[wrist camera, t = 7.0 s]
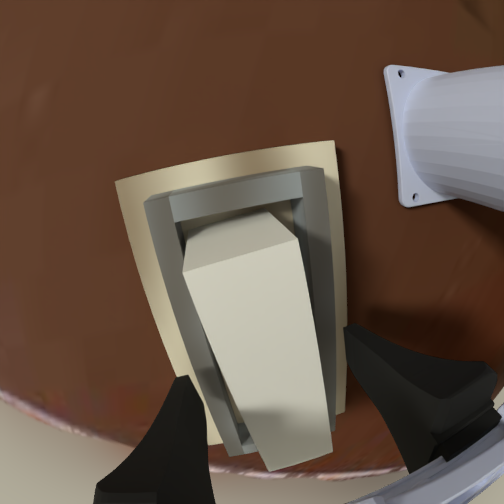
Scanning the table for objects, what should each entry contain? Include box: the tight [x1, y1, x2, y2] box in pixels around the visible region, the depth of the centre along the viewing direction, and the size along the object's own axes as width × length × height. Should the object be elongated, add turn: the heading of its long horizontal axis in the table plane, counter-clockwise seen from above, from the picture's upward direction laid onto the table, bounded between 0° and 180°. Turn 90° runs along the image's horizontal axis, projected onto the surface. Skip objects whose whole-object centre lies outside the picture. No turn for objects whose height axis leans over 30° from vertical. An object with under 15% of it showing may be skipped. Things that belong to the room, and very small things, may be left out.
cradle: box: [115, 141, 347, 457], centre depth 15 cm, size 10×18×3 cm, turn 10°
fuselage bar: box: [182, 208, 333, 472], centre depth 13 cm, size 4×12×5 cm, turn 15°
